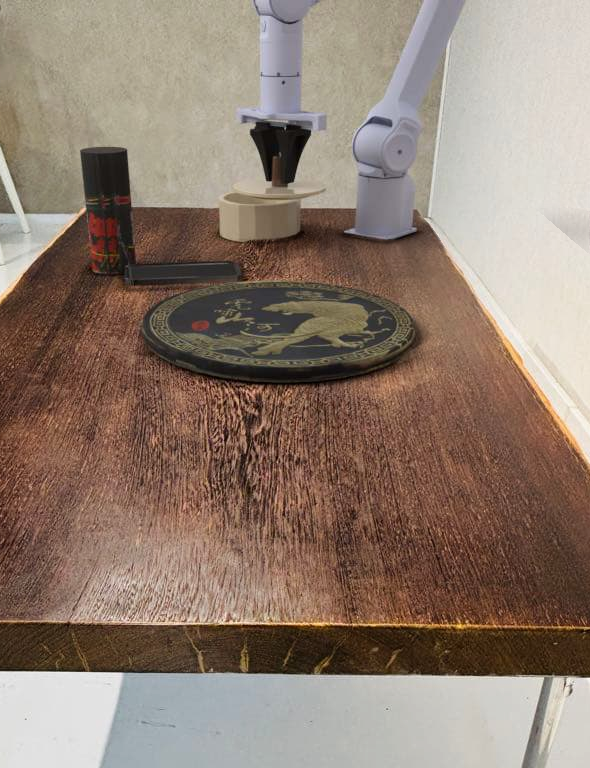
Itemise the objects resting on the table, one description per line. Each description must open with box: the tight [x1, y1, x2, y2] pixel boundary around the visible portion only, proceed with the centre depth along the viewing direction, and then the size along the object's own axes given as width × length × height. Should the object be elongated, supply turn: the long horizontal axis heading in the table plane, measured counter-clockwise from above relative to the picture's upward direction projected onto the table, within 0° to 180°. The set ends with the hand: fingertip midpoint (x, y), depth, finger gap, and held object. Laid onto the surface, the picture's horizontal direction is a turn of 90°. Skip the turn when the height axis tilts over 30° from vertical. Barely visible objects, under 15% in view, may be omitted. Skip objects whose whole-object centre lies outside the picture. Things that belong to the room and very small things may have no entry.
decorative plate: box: [141, 280, 416, 384], centre depth 94 cm, size 30×2×30 cm
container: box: [217, 190, 302, 243], centre depth 134 cm, size 13×13×5 cm
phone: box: [124, 260, 243, 287], centre depth 113 cm, size 8×1×15 cm
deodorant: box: [79, 146, 137, 276], centre depth 113 cm, size 6×6×15 cm
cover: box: [232, 154, 328, 200], centre depth 124 cm, size 14×14×5 cm
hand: (279, 181), depth 124 cm, fingers closed on cover, 2 cm apart
